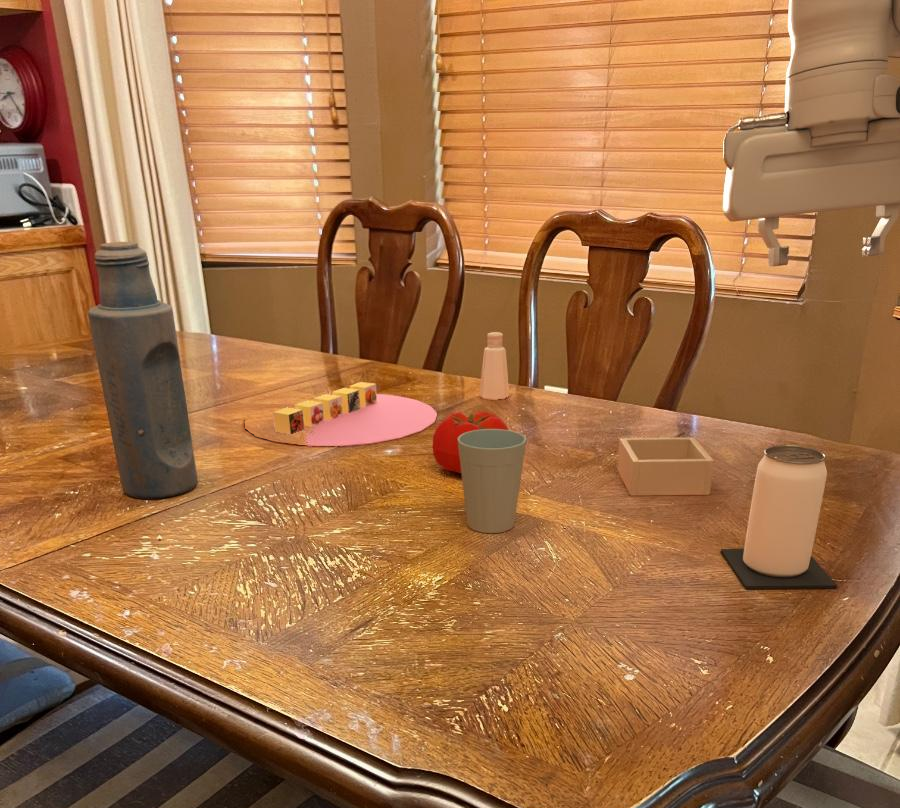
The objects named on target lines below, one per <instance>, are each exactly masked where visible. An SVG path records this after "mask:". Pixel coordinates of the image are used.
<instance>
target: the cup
mask: <svg viewBox="0 0 900 808" xmlns="http://www.w3.org/2000/svg"><path fill="white" fill-rule="evenodd" d="M526 446H527V437H526V435H524V434H522V433H521V432H518V431H515V430H510V429H508V430H503V429H481V430H474V431H469V432H466V433H463V434H461V435H460V436H459V437H458V448H459V456H460V464H461V473H462V474H461V480H462V491H463V497H464V507H465V512H466V513H465V514H466V523H467V524H466V525H467V526H468V528H470V529H471V530H473V531H474V532H478V533H483V534H500V533H505V532H508V531H510V530H512V529H513V528H514V526H515V522H516V515H517V508H518V500H519V493H520V486H521V479H522V471H523V465H524V459H525V454H526Z"/></svg>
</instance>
